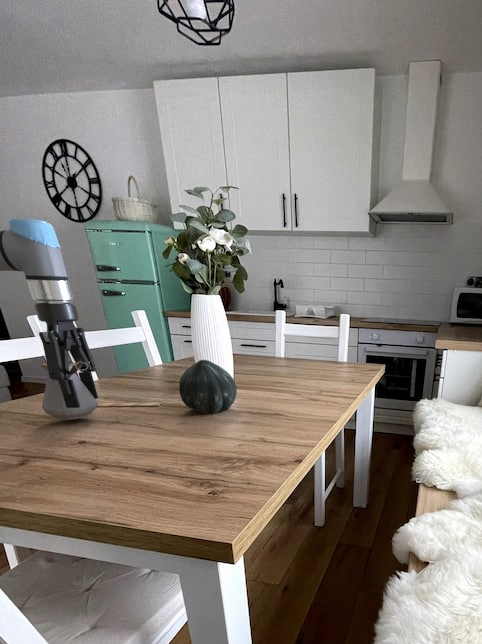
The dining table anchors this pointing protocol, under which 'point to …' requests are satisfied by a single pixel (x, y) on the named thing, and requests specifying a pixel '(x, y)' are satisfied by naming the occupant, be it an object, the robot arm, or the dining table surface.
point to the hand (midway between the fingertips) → (83, 402)
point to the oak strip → (126, 404)
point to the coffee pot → (55, 400)
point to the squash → (207, 387)
